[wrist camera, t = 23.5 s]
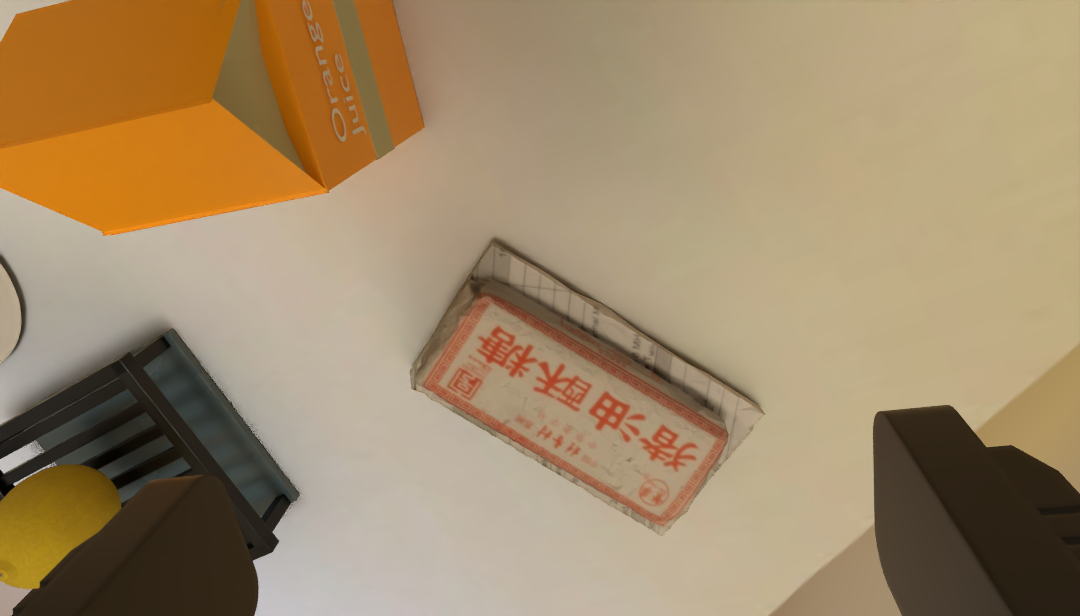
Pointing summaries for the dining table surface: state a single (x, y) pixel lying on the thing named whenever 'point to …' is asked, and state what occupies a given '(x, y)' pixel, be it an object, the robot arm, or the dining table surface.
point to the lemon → (51, 520)
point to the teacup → (8, 316)
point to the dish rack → (155, 435)
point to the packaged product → (581, 391)
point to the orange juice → (197, 104)
